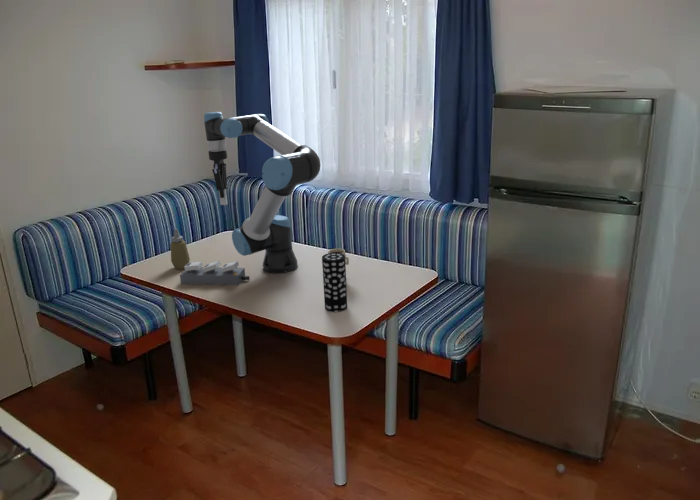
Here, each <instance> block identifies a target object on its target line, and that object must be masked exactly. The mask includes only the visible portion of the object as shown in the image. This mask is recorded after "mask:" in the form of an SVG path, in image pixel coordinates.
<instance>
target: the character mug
mask: <svg viewBox="0 0 700 500" xmlns="http://www.w3.org/2000/svg"><path fill="white" fill-rule="evenodd" d="M328 253H341V254H344V255H345V265H347V266H348V265H350V258H349V257H348V256H346V250H345V249H344V248H332V249H329V250H328V251H327V254H328Z"/></svg>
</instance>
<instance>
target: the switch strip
mask: <svg viewBox="0 0 700 500" xmlns="http://www.w3.org/2000/svg"><path fill="white" fill-rule="evenodd" d="M204 267H205V266H204ZM204 267H203V266H202V267H201V268H200V269H198V270H188V271H185V270H183V271H182V273H180V274H179V278H180V279H179V280H180V284H181V285H216V284H220V285H222V286H223V285H224V286H225V285H227V286H232V285H233V286H234V285H235V286H239V285H240V284H241V283H242V282H243V281H249V280H250V276H249V275H246V272H245V267H237V268H236V269H233V270H229V271H225V272H222V269H221V268H222V267H220V266H219V267H218V268H216V269H213V270H210V271H207V272H204V270H203V268H204ZM241 281H242V282H241ZM220 285H219V286H220Z"/></svg>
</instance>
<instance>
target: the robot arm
mask: <svg viewBox="0 0 700 500" xmlns="http://www.w3.org/2000/svg"><path fill="white" fill-rule="evenodd" d="M203 118H204V119H203V120H204V121H203V122H204V123H203V124H204V129H205V137H206V144H205V145H207V150H208V153H207V154H208V159H209V161H213V165H212V166H213V168H212V170H211V171H212V174H213V178H214V182H215V186H216V190H215V191H218V194H219V195H218V196H219V204H220V206H227V205H228V203H229V202H228V196H227V189H228V188H229V187H228V180H227V163H225V160H227V159H228V153H227V151H228V150H226V149H227V143H226V138H228V139H232V138H233V139H235V138H236V139H237V138H238V137H239V136H246V135H253V136H254V137H255V138H257V139H259V140H260V141H261V142H262V143H264V144H265V145H267V146H268V147H270V149H273V150H274V151H275V152H277V153H278V154H280V155H276V156H274V157H273V156H272V157H270V158H268V159H267V160H266V161H264V164H263V166H262V169H261V173H262V174H261V177H262V182H263V184H264V189H263V190H262V191H261V194H260V195H259V196H260V197H259V198H258V201H257V202H256V205H255V206H254V209H253V210H252V213H251V215H250V217H247V218H246V219H244V221H243V223H242V225H241V226H240V227H239V228H235V229H233V230H232V232H231V240H232V244H233V246H234V249H235V250H236V251H237V253H238V254H239V255H241V256H244V257H245V256H250V255H253V254H256V253H259V252H262V251H265V253H264V257H263V262H262V268H263V270H264V271H265V272H266V273H273V274H281V273H287V272H291V271H293V270H295V269H296V268H298V265H299V264H298V259H297V258H296V255H295V252H294V249H293V242H292V240H293V239H292V226H291V219H290V218H289V217H287V216H286V215H285V216H284V215H281V214H280V215H279V214H277V213H279V210H280V208H281V206H282V205H283V202H284V200H285V198H286V197H289V196H291V195H292V194H293V192H294V191H295V188H296V187H297V186H298V185H302V184H305V183H309V182H312V181H313V180H315V179H316V178H317V177H318V175H319V173H320V171H321V159H320V156H319V155H318V154H317V153H316V150H313V149H312V148H311V147H310V146H308V145H306V144H301V143H299V142H297V141H296V140H294V139H293V138H292V137H290V136H289V135H287V134H286V133H284V132H282V131H281V130H279V129H278V128H276V127H275V126H273V125H272V124H270V120H269V118H267V115H266V114H263V113H254V114H250V115H241V116H233V117H224V116H223V114H222V112H221V111H213V112H212V111H211V112H209V111H208V112H205V113H204V114H203Z"/></svg>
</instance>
